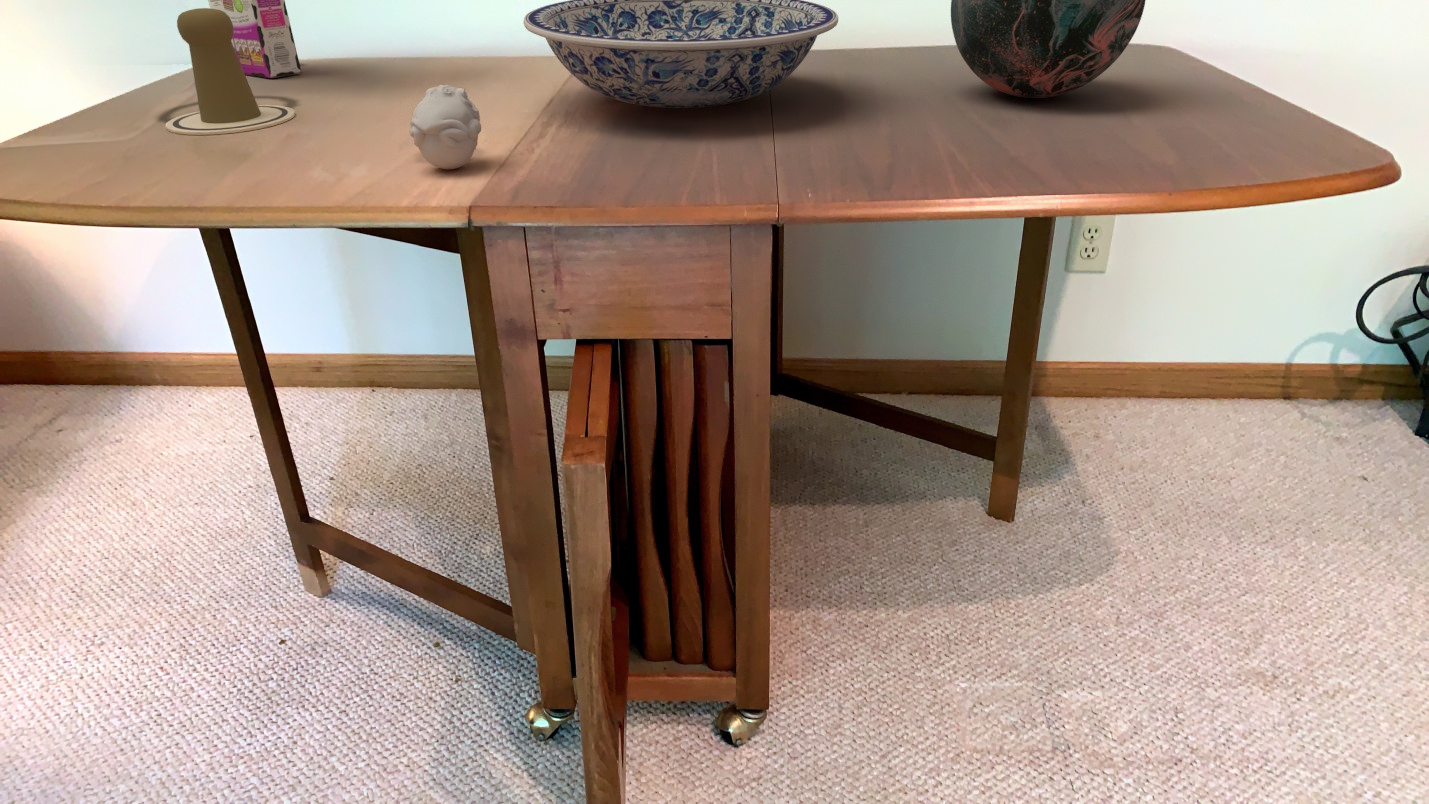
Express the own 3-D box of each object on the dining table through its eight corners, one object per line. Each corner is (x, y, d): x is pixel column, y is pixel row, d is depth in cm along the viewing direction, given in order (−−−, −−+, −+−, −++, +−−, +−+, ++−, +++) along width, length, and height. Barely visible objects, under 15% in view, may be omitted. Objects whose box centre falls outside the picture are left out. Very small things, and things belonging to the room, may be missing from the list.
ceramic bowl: (584, 156, 83) (574, 41, 78) (503, 90, 110) (492, 2, 105) (894, 116, 95) (902, 14, 90) (752, 65, 122) (752, -15, 117)
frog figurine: (500, 158, 83) (489, 80, 79) (465, 180, 77) (452, 96, 74) (440, 155, 84) (427, 78, 81) (402, 176, 78) (386, 94, 75)
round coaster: (148, 138, 92) (147, 135, 92) (186, 111, 103) (185, 108, 103) (281, 130, 94) (281, 127, 94) (305, 104, 105) (304, 101, 105)
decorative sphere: (923, 81, 110) (940, -104, 100) (1082, 77, 111) (1115, -108, 101) (969, 118, 93) (996, -100, 83) (1157, 113, 94) (1207, -105, 84)
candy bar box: (305, 73, 122) (273, -61, 114) (271, 79, 119) (236, -59, 111) (259, 66, 128) (225, -62, 120) (225, 72, 124) (188, -60, 116)
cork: (214, 126, 95) (181, 14, 89) (192, 118, 98) (158, 10, 93) (270, 116, 99) (242, 8, 93) (247, 108, 102) (218, 4, 96)
